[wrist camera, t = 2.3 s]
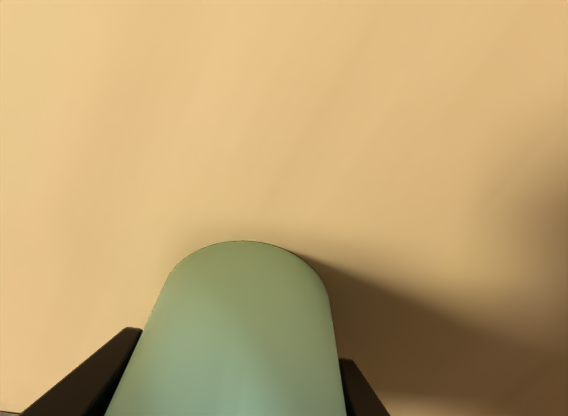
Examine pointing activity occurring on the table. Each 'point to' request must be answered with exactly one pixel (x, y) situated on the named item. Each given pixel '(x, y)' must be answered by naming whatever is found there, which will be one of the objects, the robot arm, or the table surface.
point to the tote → (7, 414)
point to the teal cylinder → (236, 340)
